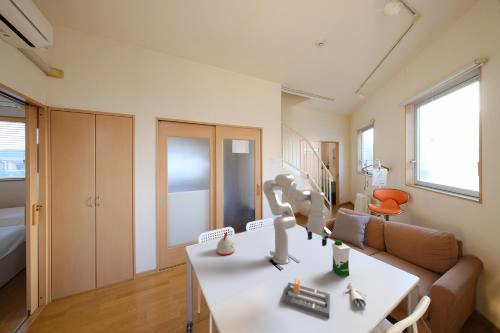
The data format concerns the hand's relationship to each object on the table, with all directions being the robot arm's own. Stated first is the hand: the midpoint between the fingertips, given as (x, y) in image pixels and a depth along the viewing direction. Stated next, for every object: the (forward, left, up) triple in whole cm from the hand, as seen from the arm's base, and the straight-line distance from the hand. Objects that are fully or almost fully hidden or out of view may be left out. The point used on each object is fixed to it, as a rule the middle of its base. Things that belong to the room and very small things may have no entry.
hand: (316, 242), depth 105 cm
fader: (-9, -15, -23) cm, 28 cm away
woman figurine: (+19, -2, -26) cm, 32 cm away
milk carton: (+13, +18, -25) cm, 34 cm away
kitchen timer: (-70, +11, -25) cm, 75 cm away
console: (-4, -15, -25) cm, 29 cm away
